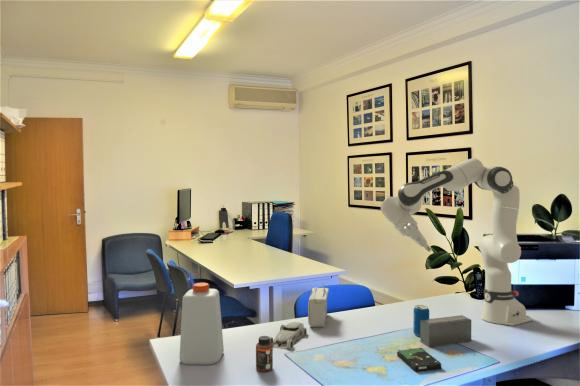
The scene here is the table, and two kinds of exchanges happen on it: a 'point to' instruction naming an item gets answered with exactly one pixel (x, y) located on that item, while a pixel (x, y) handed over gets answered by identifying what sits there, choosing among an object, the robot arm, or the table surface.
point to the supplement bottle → (264, 354)
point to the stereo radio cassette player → (317, 307)
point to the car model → (288, 335)
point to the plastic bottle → (201, 326)
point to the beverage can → (419, 317)
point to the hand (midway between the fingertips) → (428, 248)
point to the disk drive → (419, 360)
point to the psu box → (445, 331)
